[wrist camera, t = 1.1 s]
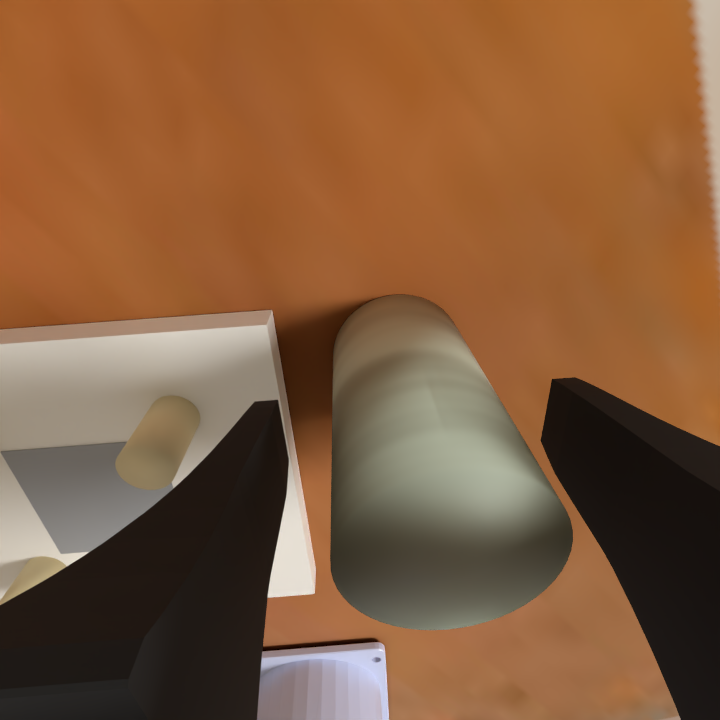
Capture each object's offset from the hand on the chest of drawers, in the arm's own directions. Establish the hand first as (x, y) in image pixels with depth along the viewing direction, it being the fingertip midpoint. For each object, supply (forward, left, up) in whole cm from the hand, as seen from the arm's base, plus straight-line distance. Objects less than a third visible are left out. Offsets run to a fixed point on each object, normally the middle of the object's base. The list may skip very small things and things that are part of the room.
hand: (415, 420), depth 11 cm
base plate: (-5, +11, -4) cm, 13 cm away
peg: (0, 0, -4) cm, 4 cm away
